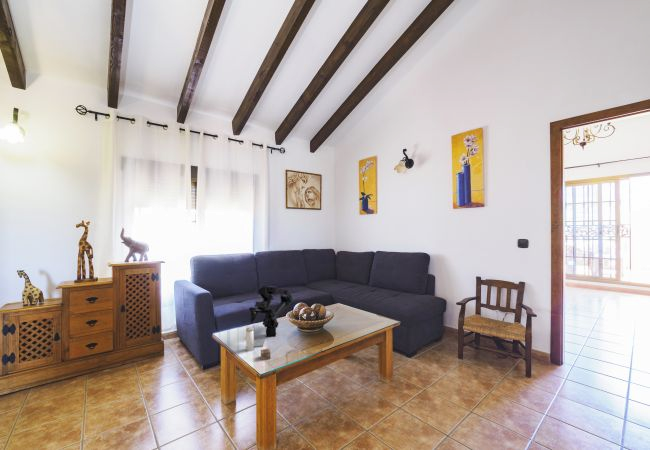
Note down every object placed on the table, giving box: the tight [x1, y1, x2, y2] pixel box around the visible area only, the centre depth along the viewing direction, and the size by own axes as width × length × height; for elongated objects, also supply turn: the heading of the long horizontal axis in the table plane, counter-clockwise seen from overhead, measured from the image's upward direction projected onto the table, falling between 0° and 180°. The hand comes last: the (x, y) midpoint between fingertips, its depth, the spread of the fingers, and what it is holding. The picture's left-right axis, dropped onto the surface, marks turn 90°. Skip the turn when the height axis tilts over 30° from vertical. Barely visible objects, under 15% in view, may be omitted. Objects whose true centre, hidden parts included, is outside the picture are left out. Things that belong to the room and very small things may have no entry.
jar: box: [245, 327, 255, 352], centre depth 173 cm, size 5×5×13 cm
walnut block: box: [260, 348, 271, 361], centre depth 162 cm, size 5×5×4 cm
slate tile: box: [254, 338, 266, 348], centre depth 181 cm, size 10×10×1 cm
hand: (256, 323), depth 180 cm, fingers open, 9 cm apart
